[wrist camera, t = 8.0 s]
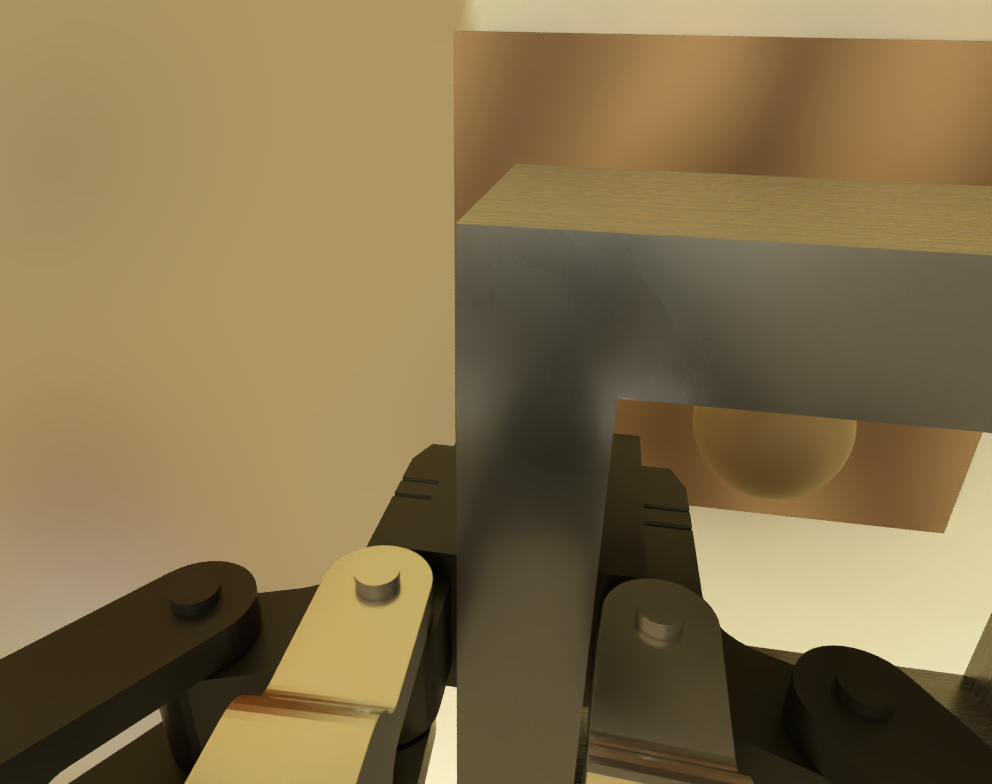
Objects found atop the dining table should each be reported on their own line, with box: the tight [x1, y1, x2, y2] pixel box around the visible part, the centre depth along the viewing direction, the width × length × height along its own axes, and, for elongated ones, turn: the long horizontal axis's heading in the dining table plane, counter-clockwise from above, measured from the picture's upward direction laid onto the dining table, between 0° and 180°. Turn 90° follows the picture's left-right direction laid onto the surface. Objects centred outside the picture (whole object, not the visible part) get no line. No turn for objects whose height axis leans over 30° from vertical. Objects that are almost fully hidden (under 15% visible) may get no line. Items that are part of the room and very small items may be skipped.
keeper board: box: [454, 31, 992, 533], centre depth 17 cm, size 16×14×10 cm
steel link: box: [456, 164, 992, 784], centre depth 9 cm, size 10×10×4 cm
